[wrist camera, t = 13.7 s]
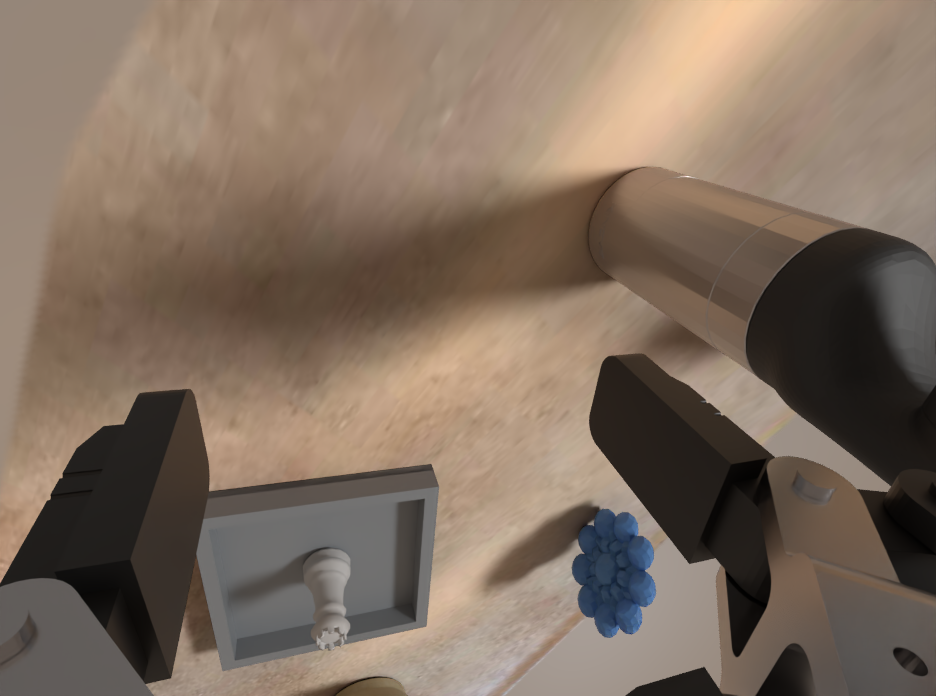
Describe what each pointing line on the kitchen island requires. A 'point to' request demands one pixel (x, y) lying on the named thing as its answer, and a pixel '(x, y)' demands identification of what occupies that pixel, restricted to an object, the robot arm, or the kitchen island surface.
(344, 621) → the rook chess piece
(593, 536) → the grapes
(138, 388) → the kitchen island surface
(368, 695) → the planter bowl
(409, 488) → the tray
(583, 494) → the kitchen island surface
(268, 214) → the kitchen island surface
